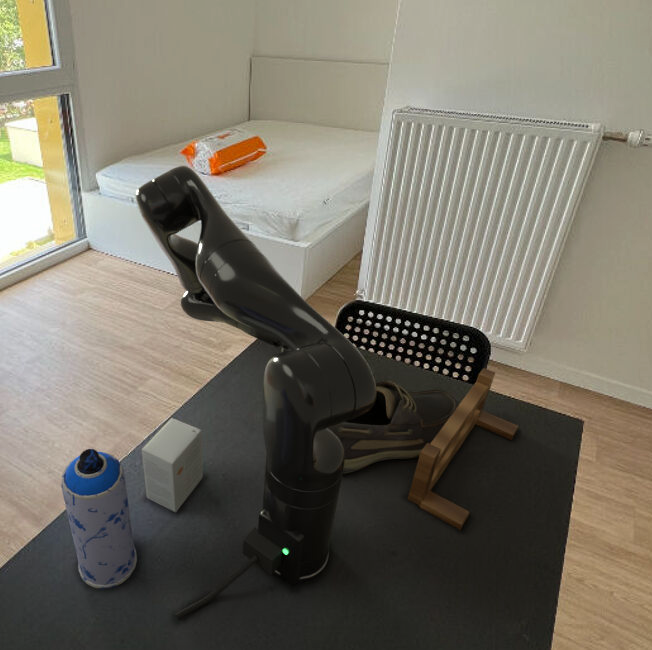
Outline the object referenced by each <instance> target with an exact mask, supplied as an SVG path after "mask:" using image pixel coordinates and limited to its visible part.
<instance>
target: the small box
mask: <svg viewBox="0 0 652 650" xmlns="http://www.w3.org/2000/svg"><path fill="white" fill-rule="evenodd" d="M140 451H141V459H142V468H143V477H144V485H145V486H144V487H145V494H146V495H145V496H146V499H148V500H149V501H152V502H153V503H156V504H158V505H160V506H162V507H164V508H166V509H168V510H170V511H171V512H174V513H177V512H178V510H179V509H180V508H181V506H182V505H183V504H184V503H185V502H186V500H187V499H188V497H189V496H190V495H191V494H192V492H193V491H194V490H195V488H196V487H197V485H199V483H200V481H201V480H202V479H203V477H204V475H203V473H204V472H203V471H204V469H203V465H204V464H203V431H202V429H200V428H198V427H195V426H192V425H190V424H188V423H185V422H183V421H181V420H178V419H176V418H173V417H170V419H168V420H167V422H166V423H165V424H164V425H163V426H162V427H161V428H160V429H159V430H158V432H156V434H154V436H153V437H152V438H150V440H149V441H148V442H147V443H146V444H145V445H144V446H143V447H141V450H140Z"/></svg>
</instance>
